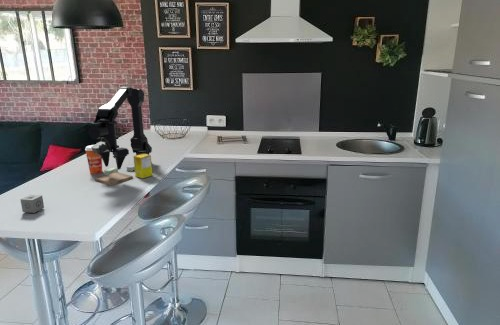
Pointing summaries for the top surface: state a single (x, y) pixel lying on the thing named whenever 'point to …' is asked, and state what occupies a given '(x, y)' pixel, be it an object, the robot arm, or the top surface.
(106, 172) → the sage brick
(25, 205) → the dice cube
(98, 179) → the walnut board
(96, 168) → the paper cup
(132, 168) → the slate brick
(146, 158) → the supplement box
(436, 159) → the top surface
